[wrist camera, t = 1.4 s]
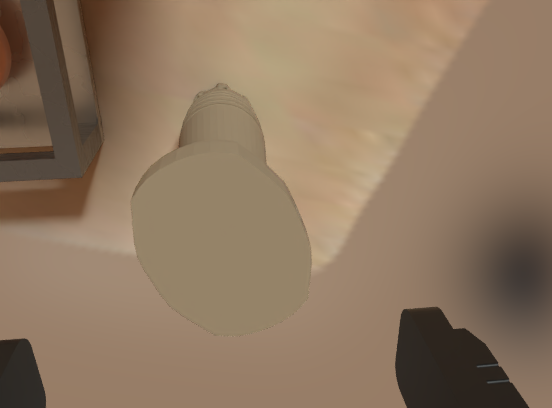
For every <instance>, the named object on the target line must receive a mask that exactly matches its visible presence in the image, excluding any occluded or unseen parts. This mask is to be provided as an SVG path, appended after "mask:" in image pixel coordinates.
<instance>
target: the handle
mask: <svg viewBox="0 0 552 408" xmlns="http://www.w3.org/2000/svg"><path fill="white" fill-rule="evenodd" d="M131 211H132V226H133V237H134V245H135V249H136V253H137V257H138V259H139V261H140V263H141V265H142V267H143V269H144V271H145V273H146V274H147V275H148V277H149V278H150V280H151V282H152V283H153V285H154V286H155V287H156V289H157V291H158V292H159V293H160V295H161V296H162V298H163V299H164V300H165V301H166V303H167V304H168V305H169V306H170V307H171V308H172V309H174V310H175V311H176V312H178V313H179V314H180V315H182V316H183V317H185V318H186V319H188V320H190V321H191V322H193V323H195V324H196V325H198V326H200V327H201V328H203V329H205V330H206V331H208V332H210V333H212V334H214V335H217V336H241V335H246V334H252V333H255V332H258V331H262V330H265V329H268V328H270V327H272V326H274V325H276V324H278V323H280V322H282V321H284V320H285V319H287V318H288V317H290V316H291V315H293V314H294V313H295V312H296V311H297V310H298V309H299V308H300V307H301V306H302V305H303V304H304V302H305V301H306V300H307V299H308V294H309V285H310V277H311V265H312V258H311V247H310V243H309V239H308V235H307V231H306V228H305V226H304V223H303V221H302V218H301V216H300V214H299V211H298V209H297V207H296V204H295V202H294V200H293V198H292V195H291V193H290V191H289V189H288V187H287V186H286V184H285V182H284V181H283V180H282V179H281V178H280V177H279V176H278V175H277V174H276V173H275V172H274V171H273V170H272V169H271V168H270V167H268V166H267V164H266V151H265V141H264V136H263V133H262V129H261V126H260V123H259V121H258V118H257V116H256V114H255V112H254V110H253V108H252V107H251V104H250V102H249V101H248V99H247V98H246V97H245V96H241V95H240V94H238V93H236V92H234V91H232V90H231V89H230V88H229V87H228V85H227V84H223V83H219V84H217V86H216V87H215V88H213V89H211V90H209V91H204V92H203V91H201V92H199V93H198V94H197V96H196V97H195V99H194V102H193V104H192V105H191V107H190V108H189V110H188V112H187V114H186V117H185V119H184V121H183V125H182V129H181V134H180V139H179V148H178V149H176V150H174V151H172V152H170V153H168V154H166V155H165V156H163V157H162V158H160V159H159V160H158V161H156V162H155V163H154V164H153V165H151V166H150V168H149V169H148V170H147V171H146V172H145V174H144V175H143V176H142V178H141V180H140V181H139V183H138V185H137V186H136V188H135V191H134V193H133V196H132V199H131Z"/></svg>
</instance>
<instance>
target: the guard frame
mask: <svg viewBox="0 0 552 408" xmlns="http://www.w3.org/2000/svg"><path fill="white" fill-rule="evenodd" d="M0 26H1V28H2V29H3V31H4V33H5V35H6V37H7V39H8V42H9V46H10V50H11V69H10V73H9V76H8V78H7V80H6V82H5V83H4V85H3V86H2V87H1V88H0V148H17V147H38V146H53V150H54V151H50V152H30V153H9V154H0V182H7V181H25V180H44V179H63V178H82V177H83V175H84V173H85V171H86V170H87V168H88V166H89V165H90V163H91V161H92V160H93V158H94V156H95V155H96V153H97V151H98V150H99V148H100V146H101V145H102V143H103V141H104V135H103V129H102V124H101V118H100V112H99V107H98V101H97V95H96V89H95V84H94V78H93V72H92V67H91V61H90V55H89V50H88V44H87V38H86V33H85V27H84V21H83V15H82V10H81V4H80V0H0Z"/></svg>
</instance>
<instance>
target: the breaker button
mask: <svg viewBox="0 0 552 408" xmlns="http://www.w3.org/2000/svg"><path fill="white" fill-rule="evenodd" d="M10 69H11V50H10V46H9V42H8V39H7V37H6V35H5V33H4V31H3V29H2V28H1V26H0V88H1V87H2V86H3V85H4V83H5V82H6V80H7V78H8V76H9V73H10Z"/></svg>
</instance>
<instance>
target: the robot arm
mask: <svg viewBox="0 0 552 408" xmlns="http://www.w3.org/2000/svg"><path fill="white" fill-rule="evenodd" d="M395 368H396V377H397V382H398V386H399V389H400V392H401V394H402V396H403V399H404V401H405V404H406V406H407V408H529V407H528V405H527V404H526V402H525V401H524V399H523V398H522V397H521V395H520V394H519V392H518V391H517V389H516V388H515V387H514V385H513V384H512V383H510V382H509V378H508V376H507V375H506V373H505V372H504V370H503V369H502V368H501V367H499V366H498V362H497V360H496V359H495V357H494V356H493V355H492V353H491V352H490V350H489V349H488V347H487V346H486V344H485V343H483V342H482V341H481V340H479V339H478V338H477V337H475V336H474V335H473V334H472V333H470V332H469V331H468V330H466V329H464V328H462V329H453V328H452V326H451V325H450V323H449V322H448V320H447V318H446V317H445V315H444V314H443V312H442V311H441V309H440V308H438V307H429V308H415V309H404V310H403V312H402V314H401V319H400V327H399V335H398V344H397V352H396V362H395ZM0 408H46V396H45V391H44V387H43V384H42V380H41V377H40V374H39V370H38V367H37V364H36V360H35V357H34V354H33V350H32V347H31V344H30V342H29V341H28V340H27V339H13V340H0Z"/></svg>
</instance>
